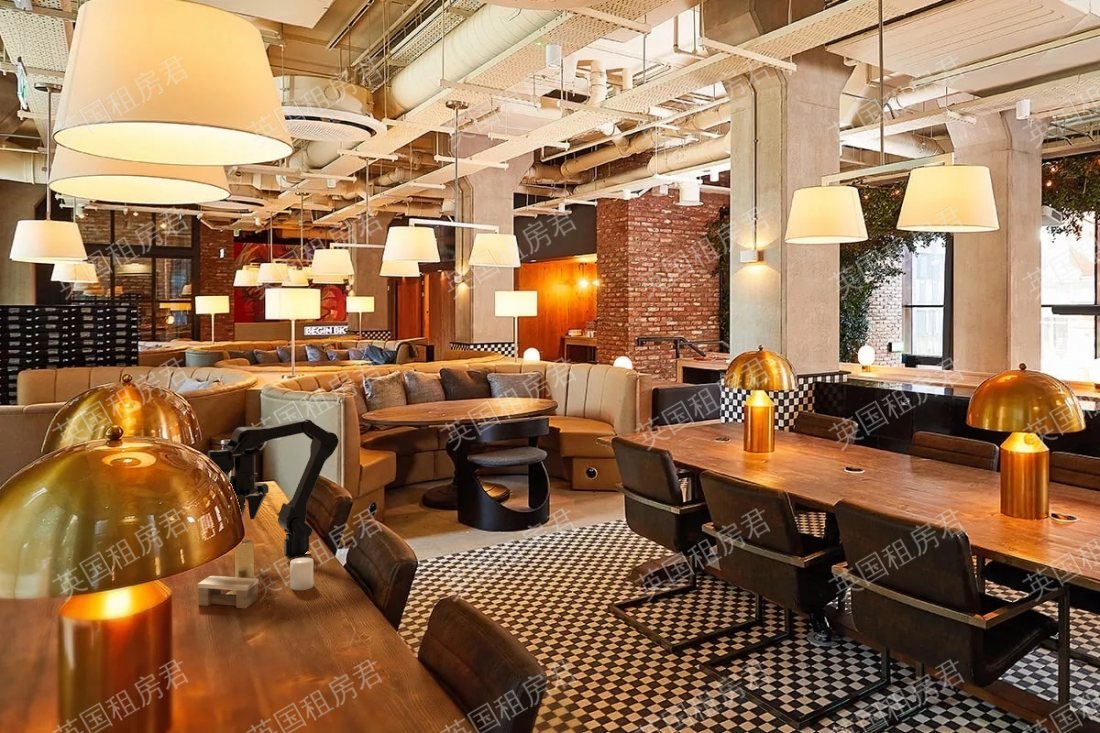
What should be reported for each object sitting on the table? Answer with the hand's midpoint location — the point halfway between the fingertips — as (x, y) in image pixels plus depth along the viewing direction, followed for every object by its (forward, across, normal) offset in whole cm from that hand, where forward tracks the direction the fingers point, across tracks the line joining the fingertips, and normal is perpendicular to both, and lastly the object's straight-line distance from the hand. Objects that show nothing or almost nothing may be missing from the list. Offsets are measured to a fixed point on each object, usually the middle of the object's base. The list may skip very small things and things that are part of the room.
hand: (244, 523), depth 220 cm
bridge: (+12, +29, +11) cm, 33 cm away
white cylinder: (+12, +15, +24) cm, 31 cm away
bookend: (+12, +23, +11) cm, 28 cm away
